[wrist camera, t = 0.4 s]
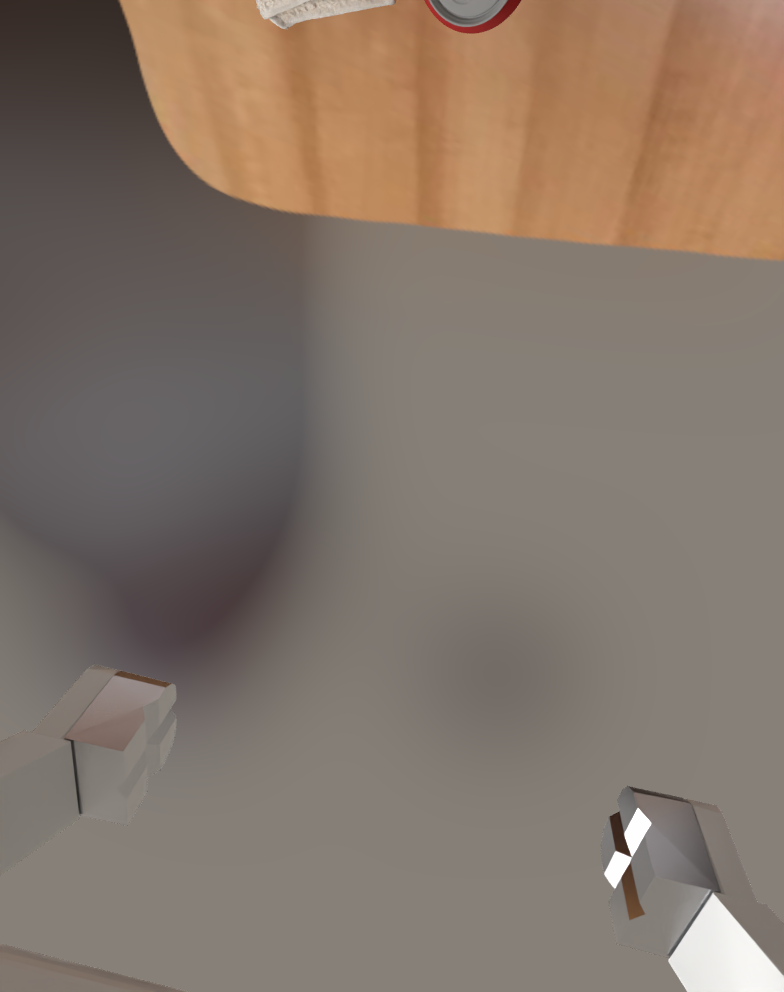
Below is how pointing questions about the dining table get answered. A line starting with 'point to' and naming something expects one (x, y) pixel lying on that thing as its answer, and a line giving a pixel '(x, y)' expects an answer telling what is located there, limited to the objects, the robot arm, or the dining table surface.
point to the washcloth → (311, 9)
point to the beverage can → (472, 13)
